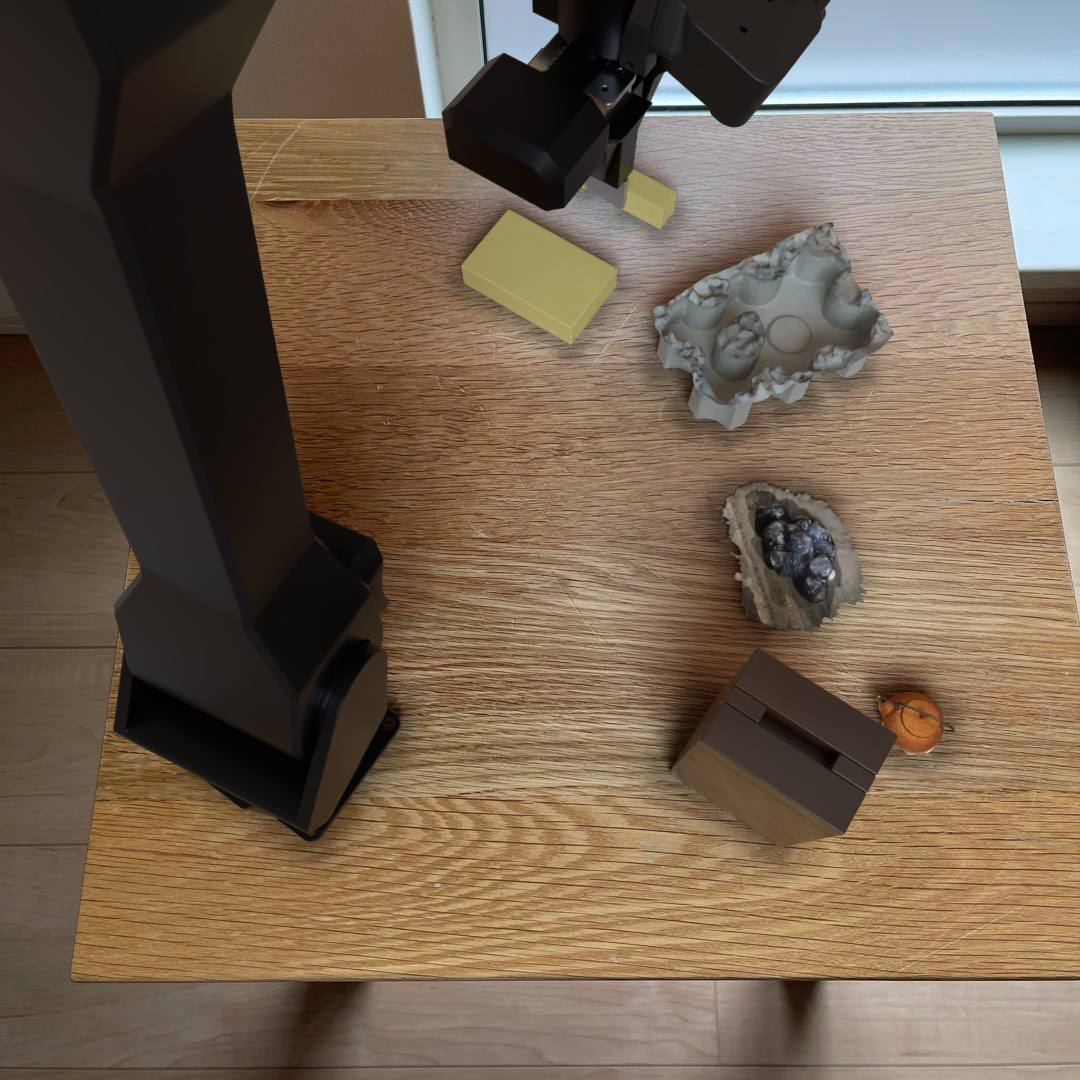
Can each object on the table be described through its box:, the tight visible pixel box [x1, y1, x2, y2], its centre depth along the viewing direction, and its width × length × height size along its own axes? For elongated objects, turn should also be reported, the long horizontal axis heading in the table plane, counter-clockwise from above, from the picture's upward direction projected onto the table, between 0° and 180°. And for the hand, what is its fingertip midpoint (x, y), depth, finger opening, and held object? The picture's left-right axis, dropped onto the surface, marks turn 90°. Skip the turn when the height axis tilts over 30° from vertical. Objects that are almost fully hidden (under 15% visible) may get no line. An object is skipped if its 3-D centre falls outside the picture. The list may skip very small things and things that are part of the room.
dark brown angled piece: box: [585, 75, 644, 210], centre depth 48 cm, size 2×2×8 cm
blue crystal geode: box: [721, 481, 867, 634], centre depth 44 cm, size 7×8×2 cm
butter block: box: [460, 208, 619, 346], centre depth 50 cm, size 4×7×2 cm, turn 56°
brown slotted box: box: [668, 647, 898, 848], centre depth 37 cm, size 4×6×10 cm
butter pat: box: [580, 168, 678, 230], centre depth 52 cm, size 2×7×2 cm, turn 56°
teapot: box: [876, 691, 956, 756], centre depth 41 cm, size 3×3×3 cm
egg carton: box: [648, 221, 895, 431], centre depth 47 cm, size 11×8×4 cm
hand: (607, 162), depth 50 cm, fingers closed on dark brown angled piece, 2 cm apart
